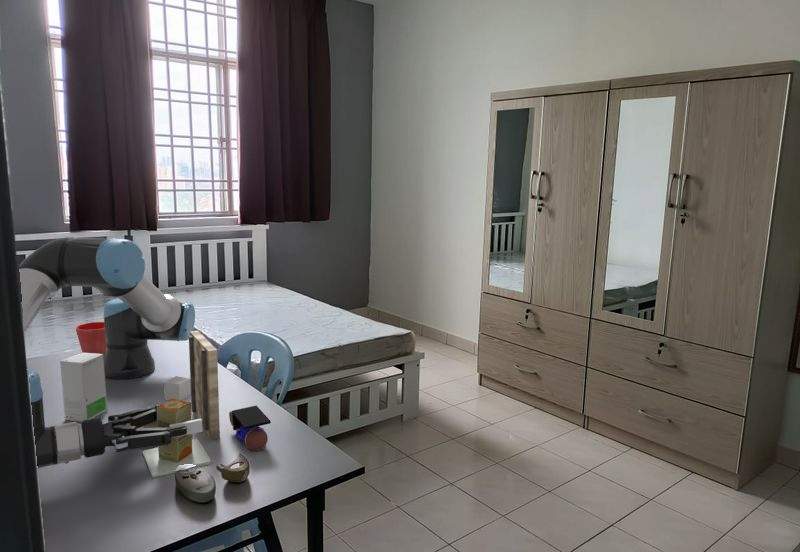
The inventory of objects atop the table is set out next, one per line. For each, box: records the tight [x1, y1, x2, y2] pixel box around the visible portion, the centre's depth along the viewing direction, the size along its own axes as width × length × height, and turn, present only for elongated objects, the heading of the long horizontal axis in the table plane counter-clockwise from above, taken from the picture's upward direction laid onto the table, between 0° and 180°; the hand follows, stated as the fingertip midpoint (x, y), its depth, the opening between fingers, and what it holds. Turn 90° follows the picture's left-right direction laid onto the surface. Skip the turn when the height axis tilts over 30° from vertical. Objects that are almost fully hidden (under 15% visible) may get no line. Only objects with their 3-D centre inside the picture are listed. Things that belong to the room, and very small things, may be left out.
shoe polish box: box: [157, 399, 193, 463], centre depth 127 cm, size 5×5×12 cm
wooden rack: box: [140, 330, 221, 441], centre depth 139 cm, size 18×16×22 cm
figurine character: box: [228, 405, 272, 451], centre depth 137 cm, size 7×8×15 cm
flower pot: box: [75, 321, 106, 356], centre depth 195 cm, size 11×11×10 cm
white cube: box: [163, 375, 191, 401], centre depth 161 cm, size 5×5×5 cm
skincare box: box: [59, 352, 108, 423], centre depth 147 cm, size 8×7×16 cm
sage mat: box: [142, 438, 212, 479], centre depth 128 cm, size 12×12×1 cm
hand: (196, 416), depth 129 cm, fingers open, 9 cm apart
